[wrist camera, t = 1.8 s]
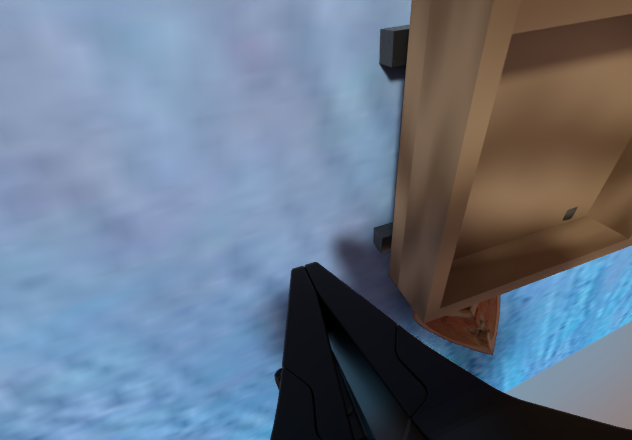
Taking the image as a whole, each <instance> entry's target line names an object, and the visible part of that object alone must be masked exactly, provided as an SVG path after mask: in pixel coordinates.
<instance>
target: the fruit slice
mask: <svg viewBox="0 0 632 440" xmlns="http://www.w3.org/2000/svg"><path fill="white" fill-rule="evenodd" d="M499 313H500V295H498V296H496V297H493V298H490V299H488V300H485V301H482V302H480V303H477V304H474V305H472V306H469V307H466V308H464V309H461V310H458V311H456V312H453V313H450V314H448V315H445V316H442V317H440V318H437V319H434V320H432V321H429V322H427V323H424V324H423V323H422V321H421V320H420V318H419V317H418V316H417V314H416V313H415V311H414V310H413V317H414V319H415V321H416V322H417V323H418V324H419V325H420V326H422V327H423V328H425V329H427V330H428V331H430V332H432V333H434V334H436V335H438V336H439V337H441V338H443V339H445V340H448V341H450V342H453V343H455V344H458V345H461V346H464V347H467V348H470V349H472V350H475V351H479V352H483V353H487V354H491V355H493V352H494V346H495V340H496V335H497V329H498V322H499Z"/></svg>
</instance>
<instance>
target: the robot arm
mask: <svg viewBox="0 0 632 440" xmlns="http://www.w3.org/2000/svg"><path fill="white" fill-rule="evenodd" d="M331 348H332V349H331ZM332 350H333V351H332ZM275 381H276V384H277V386H278V389H279V397H278V404H277V409H276V414H275V420H274V425H273V430H272V434H271V439H270V440H632V430H630V429H625V428H621V427H616V426H613V425H609V424H606V423H602V422H598V421H595V420H591V419H587V418H584V417H580V416H577V415H573V414H570V413H566V412H563V411H559V410H555V409H551V408H548V407H545V406H541V405H537V404H533V403H530V402H526V401H523V400H520V399H517V398H515V397H512V396H510V395H507V394H505V393H503V392H501V391H499V390H497V389H495V388H494V387H492V386H490V385H488V384H487V383H485V382H484V381H482V380H480V379H479V378H477V377H476V376H474V375H472V374H471V373H469V372H467V371H466V370H464V369H463V368H461V367H459V366H458V365H456V364H455V363H453V362H451V361H450V360H448V359H447V358H445V357H443V356H442V355H440V354H439V353H437V352H436V351H434V350H433V349H431V348H429V347H428V346H426V345H425V344H424V343H422V342H421V341H419V340H418V339H417V338H415V337H414V336H413V335H411V334H410V333H408V332H407V331H406V330H405V329H403V328H402V327H401V326H399V325H398V326H397V323H395V322H394V321H393V320H392V319H390V318H389V317H388V316H386V315H385V314H384V313H382V312H381V311H380V310H379V309H377V308H376V307H375V306H373V305H372V304H371V303H369V302H368V301H367V300H366V299H364V298H363V297H362V296H360V295H359V294H358V293H356V292H355V291H354V290H353V289H351V288H350V287H349V286H347V285H346V284H345V283H344V282H342V281H341V280H340V279H338V278H337V277H336V276H334V275H333V274H332V273H331V272H329V271H328V270H327V269H325V268H324V267H323V266H321V265H320V264H319V263H317V262H313V263H310V264H307V265H305V267H304V266H300V267H297V268H293V269H292V270H291V279H290V289H289V300H288V310H287V320H286V331H285V341H284V352H283V362H282V370H280V371H278V372H277V373H275Z"/></svg>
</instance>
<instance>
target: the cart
mask: <svg viewBox="0 0 632 440" xmlns="http://www.w3.org/2000/svg"><path fill="white" fill-rule="evenodd" d="M631 245H632V0H412V4H411V16H410V28H409V40H408V52H407V64H406V76H405V88H404V100H403V113H402V125H401V137H400V149H399V161H398V173H397V185H396V197H395V209H394V221H393V233H392V245H391V257H390V269H389V276H390V278H391V279H392V281H393V282H394V283H395V285H396V286H397V288H398V289H399V290H400V292H401V293H402V295H403V296H404V297H405V299H406V300H407V302H408V303H409V304H410V306H411V307H412V309H413V310H414V311H415V313H416V314H417V316H418V317H419V318H420V320H421V321H422V323H423V324H424V323H427V322H429V321H432V320H434V319H437V318H440V317H442V316H445V315H448V314H450V313H453V312H456V311H458V310H461V309H464V308H466V307H469V306H472V305H474V304H477V303H480V302H482V301H485V300H488V299H490V298H493V297H496V296H498V295H501V294H504V293H506V292H509V291H512V290H514V289H517V288H519V287H522V286H525V285H527V284H530V283H533V282H535V281H538V280H541V279H543V278H546V277H549V276H551V275H554V274H557V273H559V272H562V271H565V270H567V269H570V268H573V267H575V266H578V265H581V264H583V263H586V262H589V261H591V260H594V259H597V258H599V257H602V256H604V255H607V254H610V253H612V252H615V251H618V250H620V249H623V248H626V247H628V246H631Z"/></svg>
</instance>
